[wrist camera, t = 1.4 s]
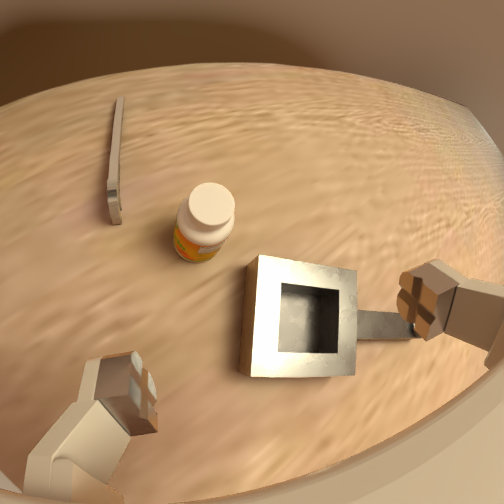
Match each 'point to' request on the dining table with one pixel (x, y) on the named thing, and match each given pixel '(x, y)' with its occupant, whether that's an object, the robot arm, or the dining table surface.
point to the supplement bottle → (203, 222)
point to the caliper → (115, 165)
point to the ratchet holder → (307, 320)
